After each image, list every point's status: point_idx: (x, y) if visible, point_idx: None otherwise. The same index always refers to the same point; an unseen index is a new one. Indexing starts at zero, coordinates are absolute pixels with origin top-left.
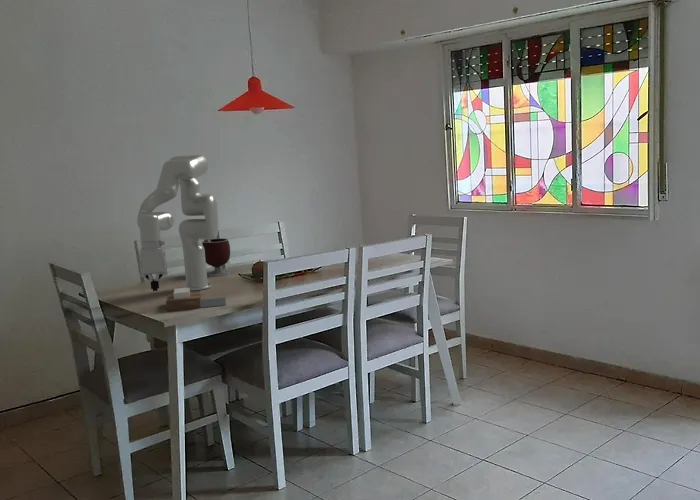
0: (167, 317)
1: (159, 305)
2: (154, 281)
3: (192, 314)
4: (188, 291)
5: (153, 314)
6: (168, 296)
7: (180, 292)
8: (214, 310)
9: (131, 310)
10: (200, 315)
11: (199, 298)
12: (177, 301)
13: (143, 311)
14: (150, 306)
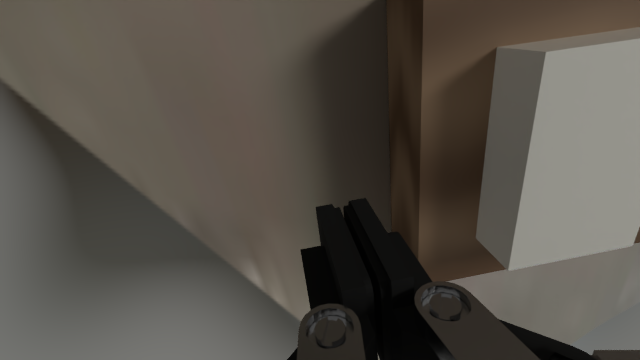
0: None
1: (308, 38)
2: (371, 303)
3: (517, 315)
4: (633, 232)
5: None
6: (430, 112)
7: (566, 253)
8: (624, 266)
9: (106, 159)
10: (546, 333)
11: (637, 241)
12: (490, 265)
13: (228, 210)
14: (232, 54)
